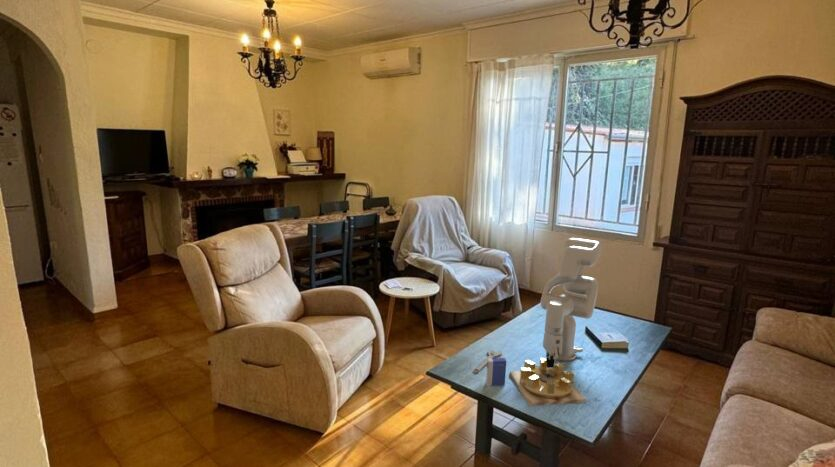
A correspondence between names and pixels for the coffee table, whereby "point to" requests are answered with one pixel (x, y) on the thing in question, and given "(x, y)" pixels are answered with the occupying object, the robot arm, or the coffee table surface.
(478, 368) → the adjustable wrench
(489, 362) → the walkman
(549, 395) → the bevel gear
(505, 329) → the coffee table surface
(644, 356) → the coffee table surface
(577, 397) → the base plate
